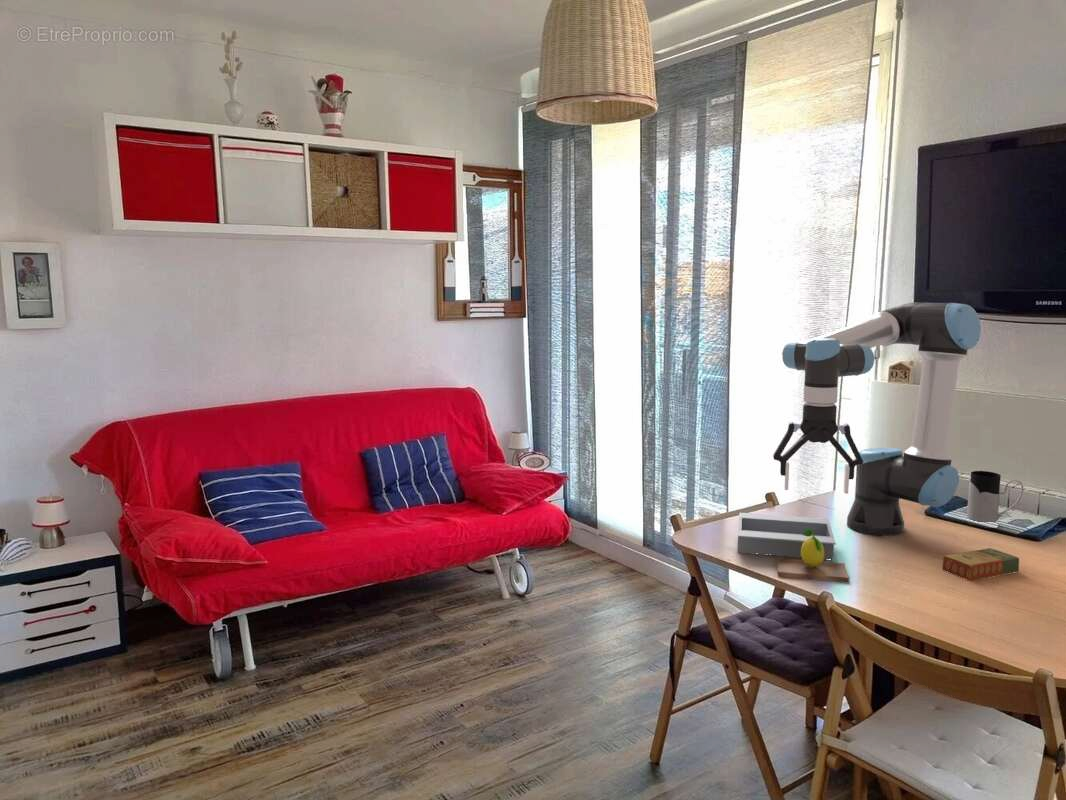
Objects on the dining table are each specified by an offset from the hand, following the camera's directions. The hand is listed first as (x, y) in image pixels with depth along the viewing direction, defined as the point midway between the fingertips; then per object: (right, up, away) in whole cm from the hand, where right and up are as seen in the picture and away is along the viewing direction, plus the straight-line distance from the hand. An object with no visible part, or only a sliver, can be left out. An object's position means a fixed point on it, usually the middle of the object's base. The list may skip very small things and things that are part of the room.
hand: (815, 490), depth 192 cm
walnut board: (0, -20, +3) cm, 21 cm away
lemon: (0, -19, +3) cm, 20 cm away
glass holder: (+65, -15, +39) cm, 77 cm away
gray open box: (-2, -18, +20) cm, 27 cm away
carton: (+42, -21, +3) cm, 47 cm away
